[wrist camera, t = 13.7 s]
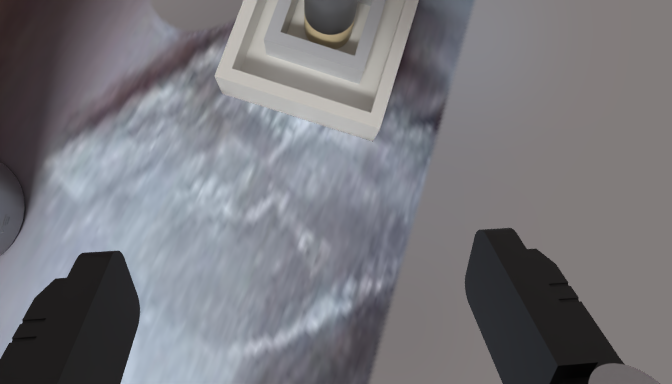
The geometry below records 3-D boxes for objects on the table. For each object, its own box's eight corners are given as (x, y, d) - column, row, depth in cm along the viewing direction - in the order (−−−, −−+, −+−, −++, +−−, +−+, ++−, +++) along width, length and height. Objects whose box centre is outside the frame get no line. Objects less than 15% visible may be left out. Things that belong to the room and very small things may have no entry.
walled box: (222, 93, 38) (214, 76, 35) (283, -70, 41) (281, -101, 38) (373, 141, 38) (379, 129, 35) (423, -24, 41) (434, -51, 38)
